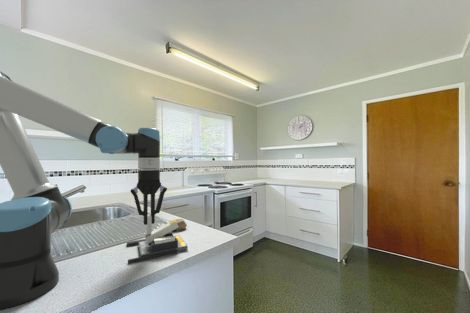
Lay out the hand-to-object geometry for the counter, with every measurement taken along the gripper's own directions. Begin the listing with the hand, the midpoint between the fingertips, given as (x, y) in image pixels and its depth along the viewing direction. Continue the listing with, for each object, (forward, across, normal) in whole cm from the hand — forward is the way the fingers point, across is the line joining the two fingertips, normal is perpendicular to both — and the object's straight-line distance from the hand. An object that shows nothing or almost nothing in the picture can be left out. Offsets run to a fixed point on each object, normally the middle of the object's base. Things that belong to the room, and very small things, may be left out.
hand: (149, 232), depth 80 cm
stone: (+7, +15, +22) cm, 27 cm away
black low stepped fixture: (+7, +2, +2) cm, 7 cm away
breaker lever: (+1, +5, 0) cm, 5 cm away
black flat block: (+7, +5, 0) cm, 8 cm away
